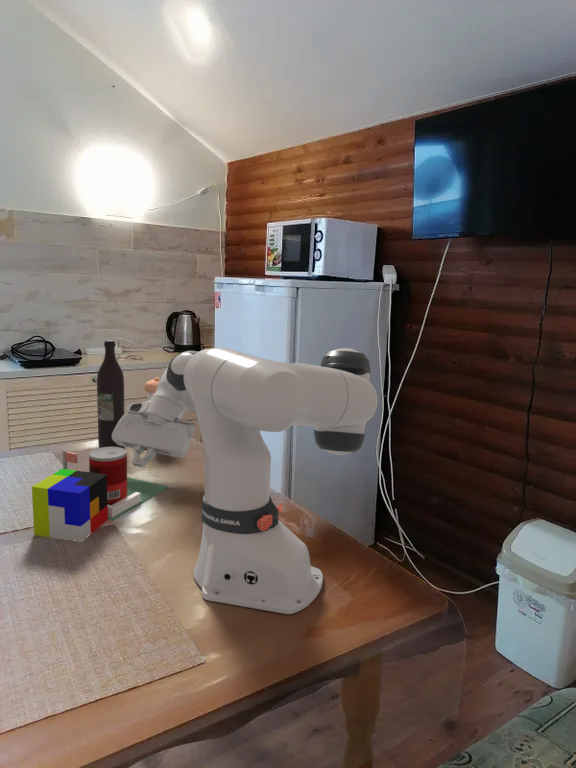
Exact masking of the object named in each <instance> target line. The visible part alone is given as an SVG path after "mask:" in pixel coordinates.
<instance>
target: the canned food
mask: <svg viewBox="0 0 576 768" xmlns="http://www.w3.org/2000/svg"><path fill="white" fill-rule="evenodd" d="M127 454H128V453H127V449H125V448H119V447H102V448H99V447H98V448H95V449H92V450H91V451H90V452H89V453H88V463H89V464H88V466H89V471H88V472H91V473H99V474H106V475H107V504H108V505H113V504H115V503H117V502H119V501H121V500H122V499H124V498H126V497H127V477H128V455H127Z"/></svg>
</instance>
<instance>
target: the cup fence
mask: <svg viewBox="0 0 576 768" xmlns="http://www.w3.org/2000/svg"><path fill="white" fill-rule="evenodd" d="M68 462H69V463H72V464H78V454H77V453H76V452H72V451H67V449H64V450H62V469H68ZM139 502H141V493H139V492H135V493H133V494H132V495H130V496H128V497H126V498H124V499H122V500H121V501H119V502H117V503H115V504H113V505H108V504H107V505H108V517H111V518H113V517H115V516H116V515H118V514H120V513H122V512H123V511H125V510H127V509H129V508H130V507H132V506H134V505H136V504H137V503H139Z"/></svg>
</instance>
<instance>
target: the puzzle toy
mask: <svg viewBox="0 0 576 768" xmlns="http://www.w3.org/2000/svg"><path fill="white" fill-rule="evenodd" d="M31 495H32V496H31V497H32V514H33V515H32V519H33V535H34V536H38V537H45V538H49V539H50V538H51V539H58V540H63V539H66V540H65V541H69V540H76V541H82V540H83V539H85V538H86V537H87V536H88V535H90V534H91V533H92V534H93V533H95V532H96V531H97V530H98V529H99V528H100V527H102V526H103V525H104V524H105V523H106V522H107V521H109V520H108V505H107V475H106V474H99V473H91V472H89V471H83V470H75V469H68V468H67V469H63V468H61V469H60V470H59V469H58V471H56V472H55V473H52V474H51V475H48V476H47V477H46V478H44V479H42V480H40V481H39V482H38V483H35V484H33V485H32V486H31ZM95 530H96V531H95ZM92 534H91V535H92ZM88 537H89V536H88ZM88 537H87V538H88ZM87 538H86V539H87ZM86 539H85V540H86ZM76 541H75V542H76Z"/></svg>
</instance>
